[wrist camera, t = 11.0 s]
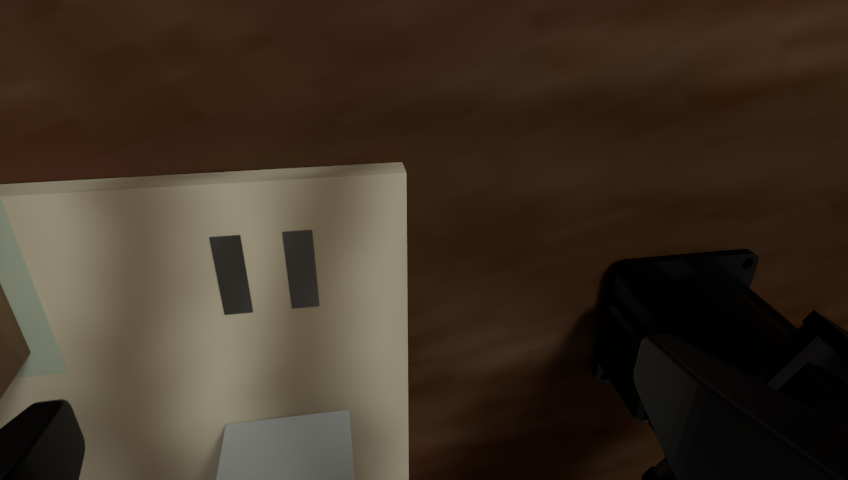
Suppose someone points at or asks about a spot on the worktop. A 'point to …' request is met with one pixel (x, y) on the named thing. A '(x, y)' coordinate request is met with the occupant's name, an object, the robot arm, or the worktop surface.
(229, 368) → the board
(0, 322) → the walnut block
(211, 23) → the worktop surface
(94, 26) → the worktop surface
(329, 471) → the grey block
